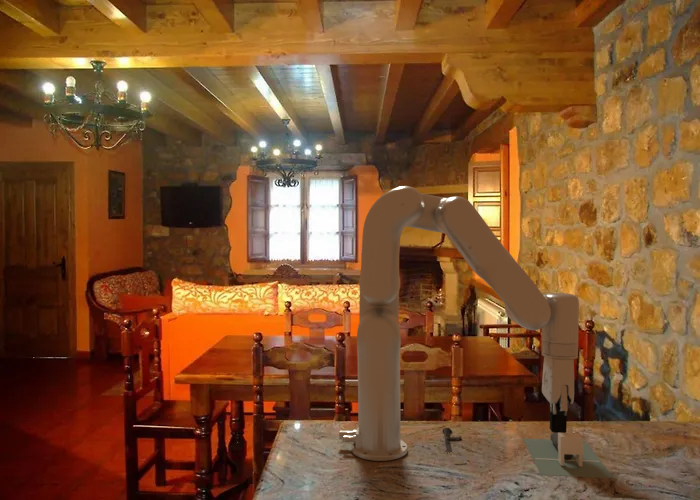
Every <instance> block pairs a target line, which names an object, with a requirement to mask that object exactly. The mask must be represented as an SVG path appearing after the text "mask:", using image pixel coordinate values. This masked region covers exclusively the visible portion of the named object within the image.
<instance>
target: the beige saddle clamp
mask: <svg viewBox="0 0 700 500" xmlns="http://www.w3.org/2000/svg"><path fill="white" fill-rule="evenodd" d="M573 429H574V428H573V426H567V432H566V433H558V461H559V463H560V465H561V466H564V454H572V455H576V462H577V464H578V465H579V466H582V455H583V441H584V436H583V435H581V433H577V432H574V430H573Z"/></svg>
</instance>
